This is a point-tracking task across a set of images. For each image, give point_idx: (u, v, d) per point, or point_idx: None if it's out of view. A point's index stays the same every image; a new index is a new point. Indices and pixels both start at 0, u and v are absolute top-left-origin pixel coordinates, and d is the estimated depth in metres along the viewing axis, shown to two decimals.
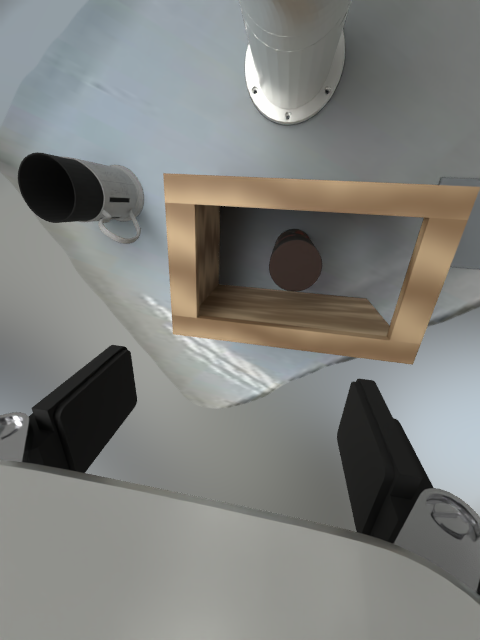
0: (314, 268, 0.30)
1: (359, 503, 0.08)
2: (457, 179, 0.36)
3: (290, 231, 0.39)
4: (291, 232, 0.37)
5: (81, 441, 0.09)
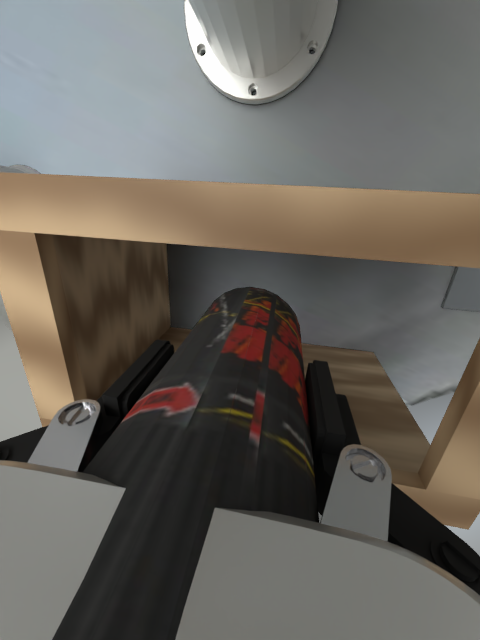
0: None
1: None
2: None
3: (225, 312, 0.11)
4: (219, 329, 0.10)
5: None
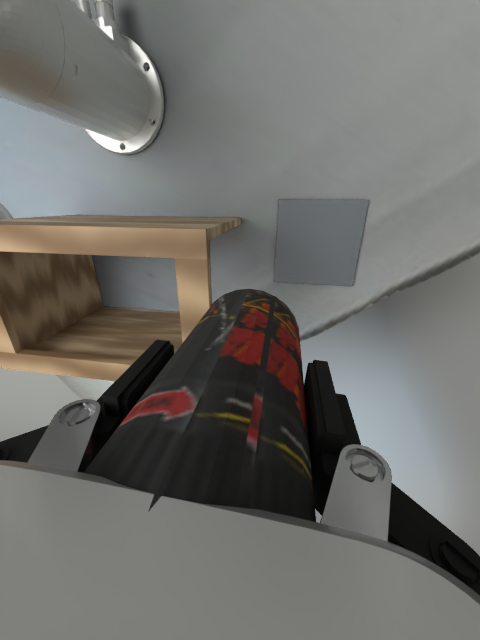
0: None
1: None
2: (292, 201, 0.37)
3: (224, 314, 0.11)
4: (217, 332, 0.10)
5: None
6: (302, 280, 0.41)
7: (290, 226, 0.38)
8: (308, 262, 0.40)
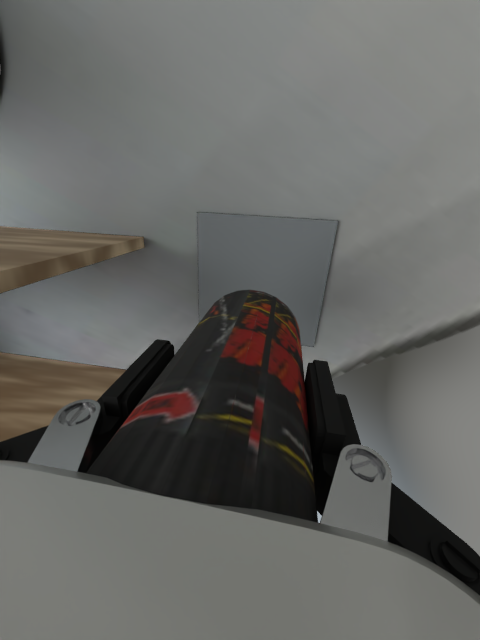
0: None
1: None
2: (218, 216, 0.23)
3: (225, 315, 0.11)
4: (218, 333, 0.10)
5: None
6: None
7: (217, 254, 0.24)
8: None
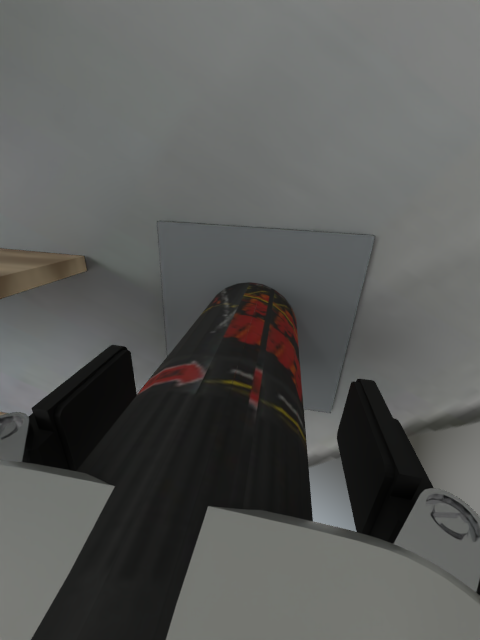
0: None
1: (359, 503, 0.08)
2: (188, 227, 0.15)
3: (227, 304, 0.12)
4: (221, 318, 0.11)
5: (81, 441, 0.09)
6: None
7: (189, 283, 0.16)
8: None
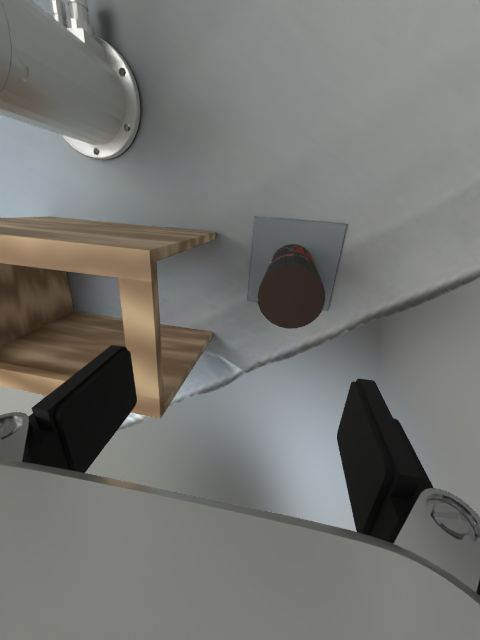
0: (316, 300, 0.23)
1: (358, 503, 0.08)
2: (268, 219, 0.35)
3: (288, 248, 0.32)
4: (289, 250, 0.31)
5: (81, 441, 0.09)
6: None
7: (265, 244, 0.36)
8: None
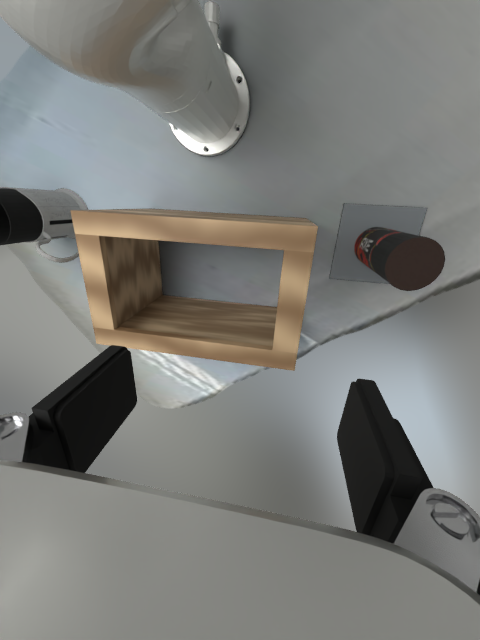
0: (436, 266, 0.28)
1: (359, 503, 0.08)
2: (356, 205, 0.40)
3: (380, 229, 0.38)
4: (385, 230, 0.36)
5: (81, 441, 0.09)
6: (356, 278, 0.45)
7: (351, 228, 0.42)
8: None
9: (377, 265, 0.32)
